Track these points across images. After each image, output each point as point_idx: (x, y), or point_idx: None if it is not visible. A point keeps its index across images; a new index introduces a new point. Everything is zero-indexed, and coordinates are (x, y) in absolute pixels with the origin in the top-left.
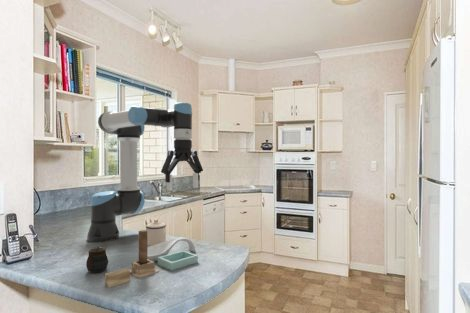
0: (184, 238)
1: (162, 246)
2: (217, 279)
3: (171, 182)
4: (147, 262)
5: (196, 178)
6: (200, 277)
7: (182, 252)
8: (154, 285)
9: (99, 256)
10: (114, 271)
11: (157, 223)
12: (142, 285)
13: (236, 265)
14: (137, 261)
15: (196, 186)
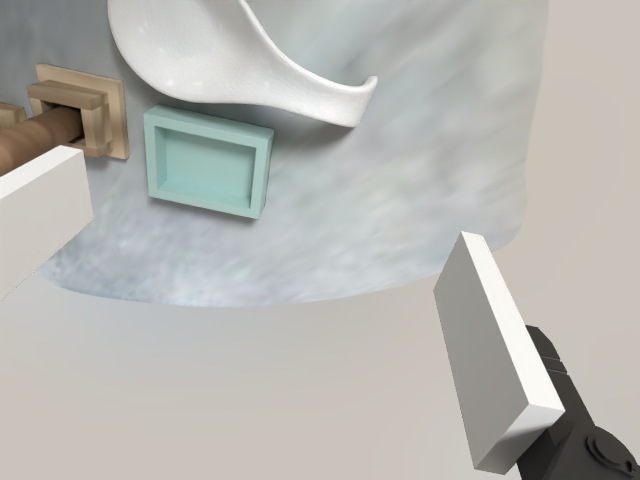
0: (307, 115)
1: (238, 14)
2: (219, 299)
3: (19, 272)
4: (80, 133)
5: (457, 382)
6: (198, 264)
7: (254, 145)
8: None
9: None
10: None
11: None
12: None
13: (324, 295)
14: (48, 100)
15: (436, 299)
